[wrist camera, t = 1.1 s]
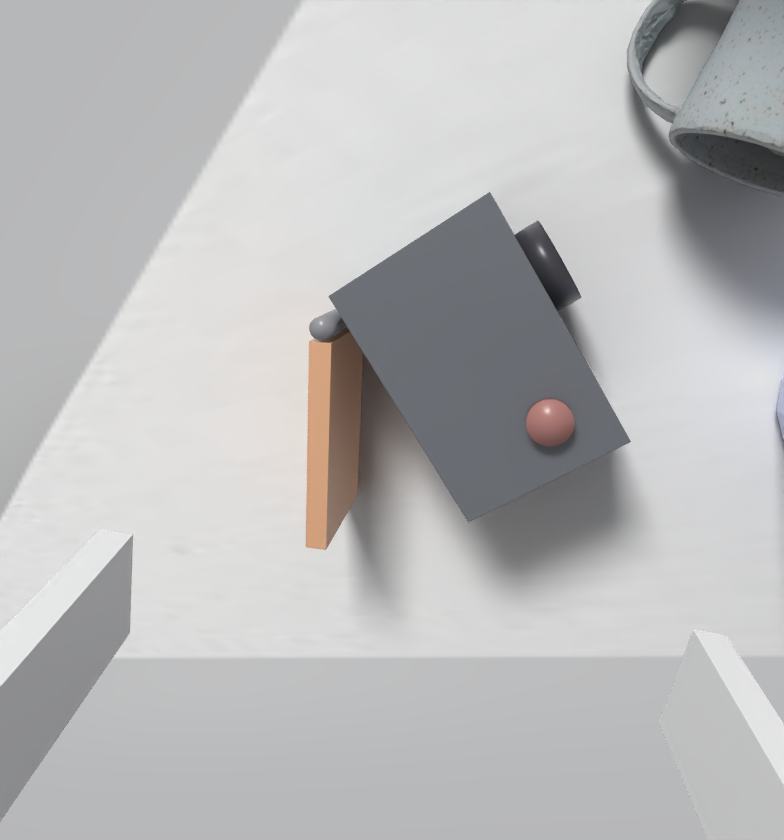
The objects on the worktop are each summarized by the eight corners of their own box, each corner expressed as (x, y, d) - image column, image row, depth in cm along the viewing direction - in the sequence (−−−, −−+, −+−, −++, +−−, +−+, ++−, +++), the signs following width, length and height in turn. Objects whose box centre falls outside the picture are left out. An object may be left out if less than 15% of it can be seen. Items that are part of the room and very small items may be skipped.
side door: (357, 495, 39) (326, 549, 32) (340, 493, 39) (305, 547, 33) (365, 301, 36) (332, 318, 29) (346, 300, 36) (309, 316, 29)
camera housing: (629, 390, 35) (660, 432, 28) (472, 472, 38) (463, 529, 31) (515, 185, 33) (516, 173, 26) (359, 285, 36) (321, 300, 29)
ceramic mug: (907, 22, 29) (1035, -48, 22) (804, 209, 32) (887, 202, 24) (673, -61, 30) (721, -156, 23) (591, 128, 32) (610, 97, 25)
